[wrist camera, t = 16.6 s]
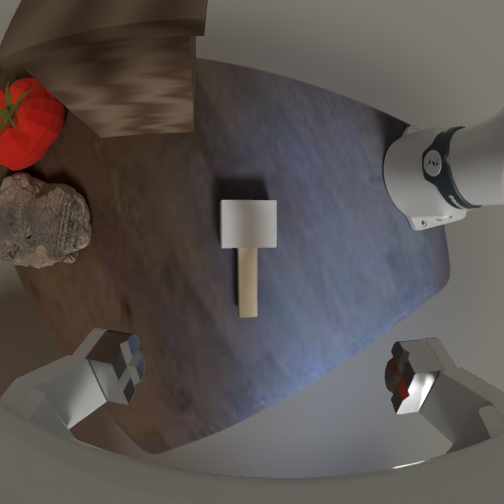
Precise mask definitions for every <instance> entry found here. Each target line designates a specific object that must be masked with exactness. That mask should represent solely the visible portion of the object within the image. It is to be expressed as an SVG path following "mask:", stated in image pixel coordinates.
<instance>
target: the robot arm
mask: <svg viewBox="0 0 504 504" xmlns="http://www.w3.org/2000/svg"><path fill="white" fill-rule="evenodd" d="M384 179H385V184H386V187H387V190H388V193H389V195H390V197H391V199H392V201H393V202H394V204H395V205H396V206H397V207H398V208H399V209H400V210H401V211H402V212H403V213H404V214H405V215H406V217H407V219H408V221H409V223H410V225H411V227H412V228H413V230H415V231H418V230H423V229H427V228H431V227H434V226H438V225H442V224H446V223H450V222H453V221H457V220H461V219H463V218H464V217H465V215H466V212H467V211H468V210H472V209H475V208H479V207H481V206H483V205H501V204H502V205H503V204H504V108H503V109H502V110H501V111H500V112H498V113H497V114H496V115H494V116H493V117H491V118H489V119H486V120H485V121H482V122H479V123H477V124H474V125H472V126H468V127H462V126H460V127H453V128H449V129H447V130H444V129H442V128H440V127H439V126H433V127H429V128H425V129H421V130H420V129H418V128H416V127H414V126H408V127H407V128H406V129H405V130H404V133H403V135H402V136H401V137H400V138H399V139H398V140H396V141H395V142H393V143H392V145H391V146H390V147H389V149H388V151H387V153H386V156H385V160H384ZM139 345H140V344H139V341H138V337H137V336H136V335H134V334H130V333H124V332H118V331H112V330H106V329H100V328H96V329H93V330H92V332H91V333H90V334H89V335H88V336H87V338H86V339H85V340H84V341H83V343H82V344H81V345H80V346H79V348H78V349H77V350H76V351H75V353H74V354H73V355H72V356H70V355H67V356H65V357H63V358H61V359H59V360H57V361H54V362H52V363H50V364H48V365H46V366H43V367H41V368H39V369H37V370H35V371H32V372H30V373H28V374H26V375H24V376H21V377H19V378H17V379H16V380H15V381H14V382H13V383H12V384H11V386H10V387H9V388H8V389H7V391H6V392H5V393H4V394H3V396H2V397H1V398H0V504H504V392H503V391H501V390H499V389H498V388H496V387H494V386H493V385H491V384H489V383H487V382H486V381H484V380H482V379H480V378H479V377H477V376H475V375H473V374H472V373H470V372H468V371H467V370H465V369H463V368H461V367H459V368H457V367H456V365H455V363H454V362H453V360H452V359H451V357H450V355H449V354H448V352H447V351H446V349H445V348H444V346H443V344H442V343H441V341H440V340H439V339H438V338H436V337H432V338H425V339H419V340H409V341H398V342H395V344H394V345H393V348H392V351H391V352H392V354H393V358H392V359H390V360H389V361H388V363H387V366H386V369H385V383H386V386H387V389H388V390H389V391H390V392H392V393H393V396H392V398H391V401H392V404H393V407H394V409H395V413H396V415H397V414H405V413H412V412H418V411H420V412H419V413H420V414H421V415H423V416H424V418H426V419H427V420H428V421H429V422H430V423H431V424H432V425H433V426H434V427H435V428H436V429H438V430H439V431H440V432H441V433H442V434H443V435H444V436H445V437H446V438H447V439H448V440H450V441H451V442H452V443H453V445H452V446H451V448H450V449H449V450H448V451H447V453H446V454H445V455H442V456H438V457H435V458H431V459H428V460H424V461H420V462H416V463H412V464H407V465H403V466H398V467H393V468H388V469H382V470H376V471H370V472H363V473H356V474H347V475H338V476H325V477H307V478H261V477H242V476H230V475H220V474H211V473H203V472H197V471H190V470H184V469H179V468H173V467H168V466H163V465H159V464H154V463H150V462H145V461H142V460H138V459H134V458H130V457H126V456H123V455H119V454H116V453H113V452H110V451H107V450H103V449H100V448H98V447H94V446H92V445H89V444H86V443H84V442H81V441H78V440H76V439H75V437H74V436H73V435H72V433H71V432H70V430H69V428H71V427H72V426H74V425H75V424H76V423H78V422H79V421H81V420H82V419H83V418H85V417H86V416H87V415H89V414H90V413H92V412H93V411H94V410H96V409H97V408H98V407H100V406H101V405H103V404H104V403H105V402H107V401H106V400H108V401H112V402H117V403H122V404H127V405H129V404H130V401H131V399H132V397H133V395H134V393H135V391H136V390H135V387H134V385H135V384H137V383H139V382H140V381H141V379H142V377H143V374H144V369H145V364H144V358H143V355H142V354H141V353H140V352H139V350H138V349H137V348H138V346H139Z"/></svg>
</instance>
